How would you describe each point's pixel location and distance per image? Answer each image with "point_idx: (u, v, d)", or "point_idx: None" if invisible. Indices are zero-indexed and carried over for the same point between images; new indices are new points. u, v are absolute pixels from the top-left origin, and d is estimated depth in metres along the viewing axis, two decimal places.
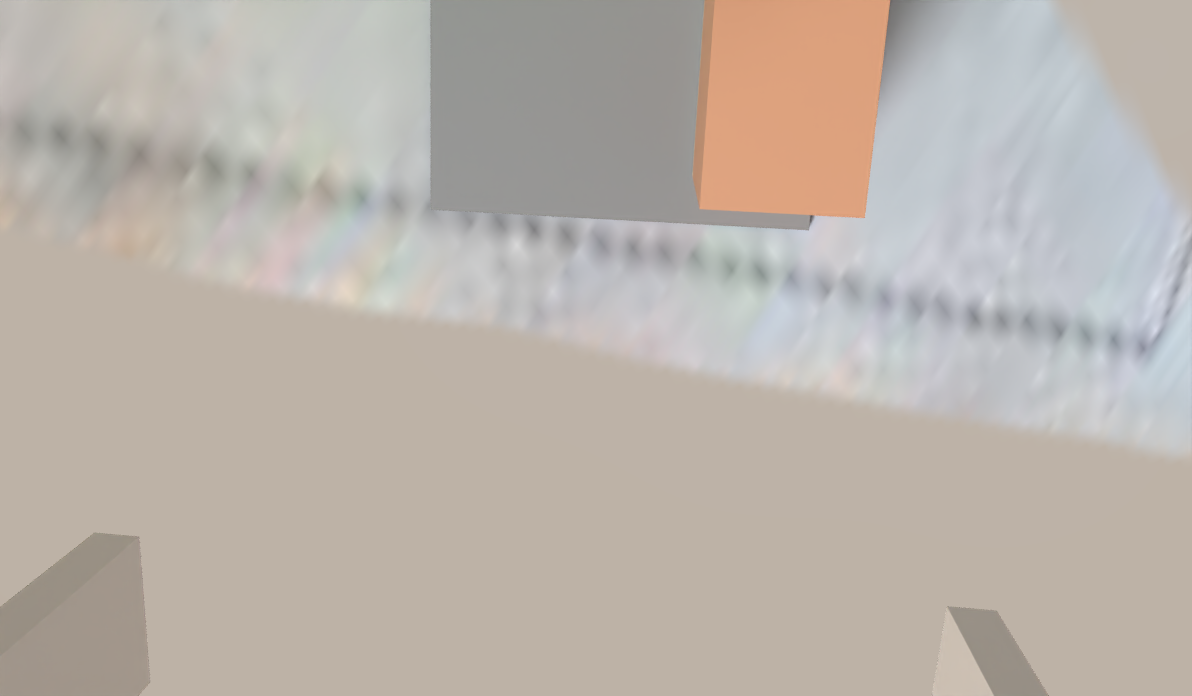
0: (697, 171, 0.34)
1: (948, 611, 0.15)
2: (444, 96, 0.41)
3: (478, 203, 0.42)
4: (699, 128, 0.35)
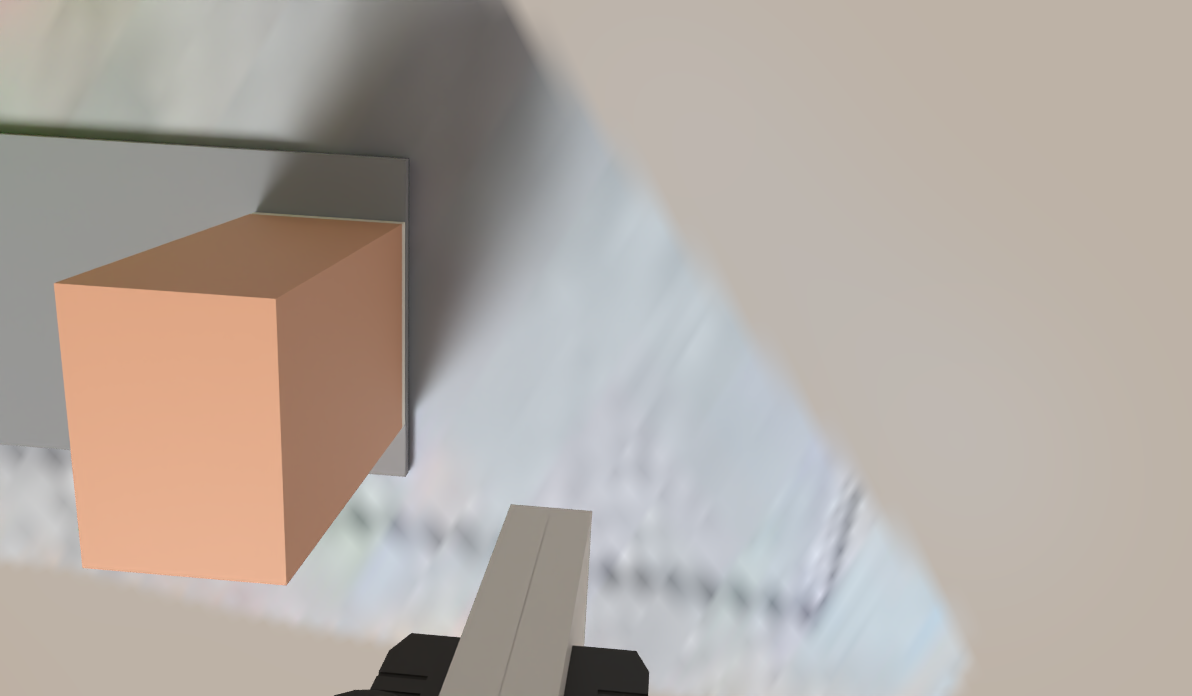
0: None
1: (550, 512, 0.18)
2: None
3: (21, 436, 0.35)
4: None
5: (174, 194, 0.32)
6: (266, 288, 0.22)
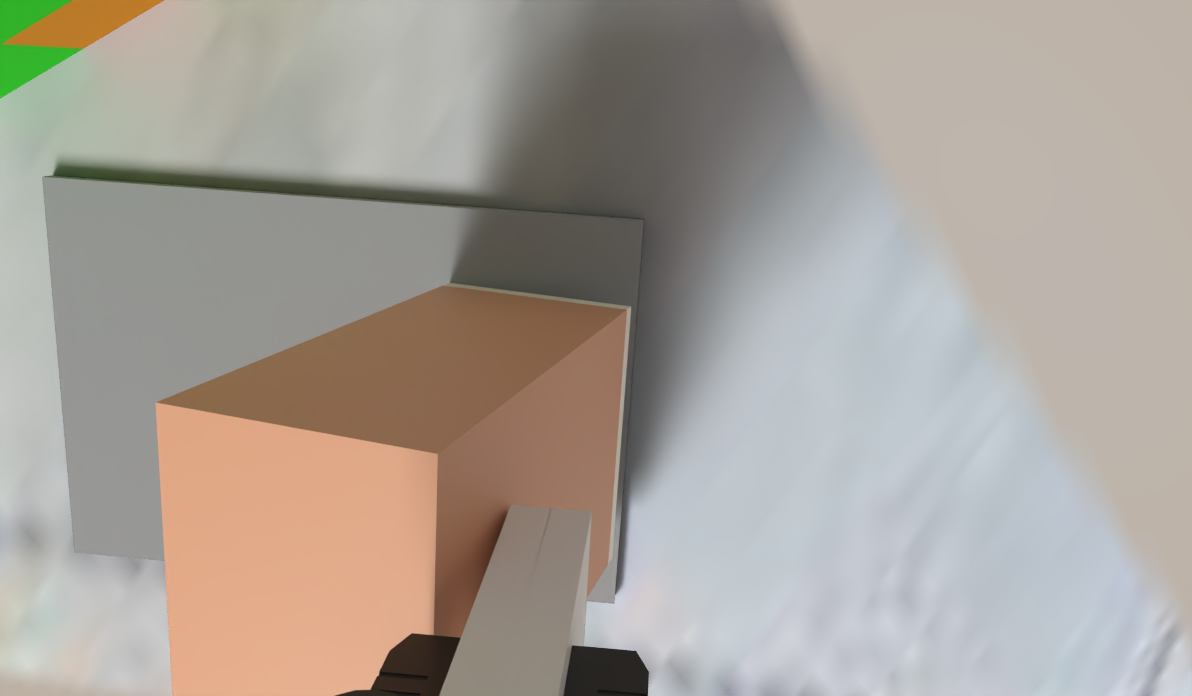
0: None
1: (550, 512, 0.18)
2: (80, 402, 0.28)
3: (141, 546, 0.29)
4: None
5: (350, 259, 0.26)
6: (430, 429, 0.15)
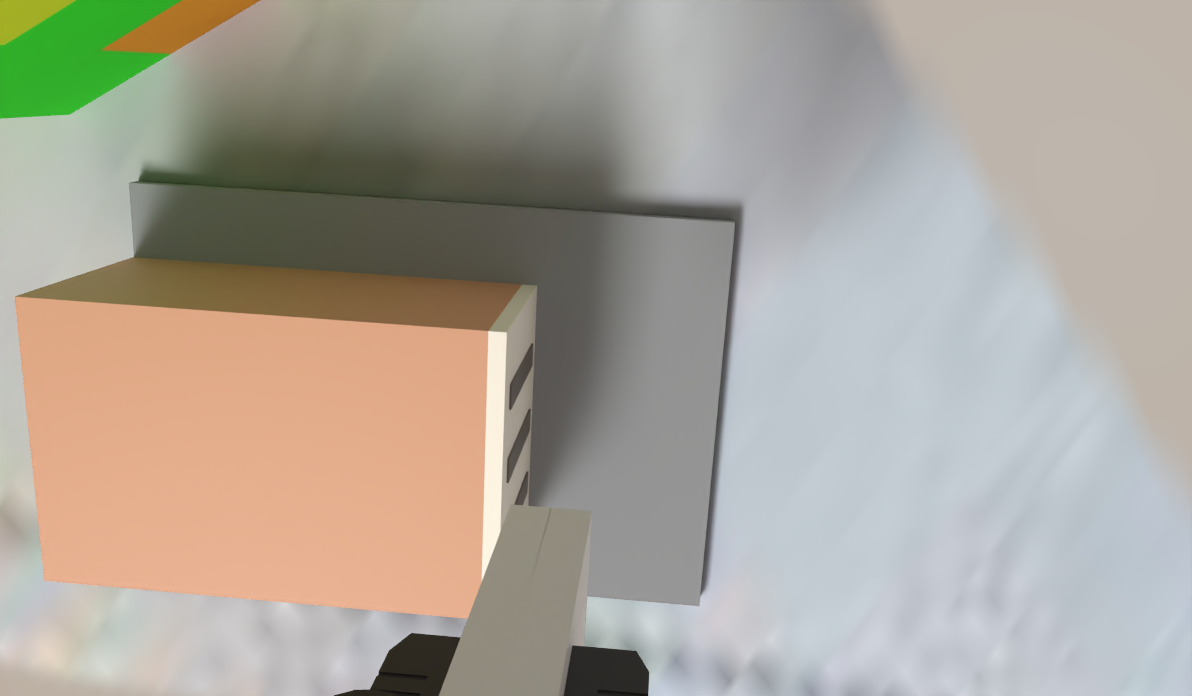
0: None
1: (550, 512, 0.18)
2: None
3: None
4: None
5: (438, 263, 0.26)
6: (68, 294, 0.22)
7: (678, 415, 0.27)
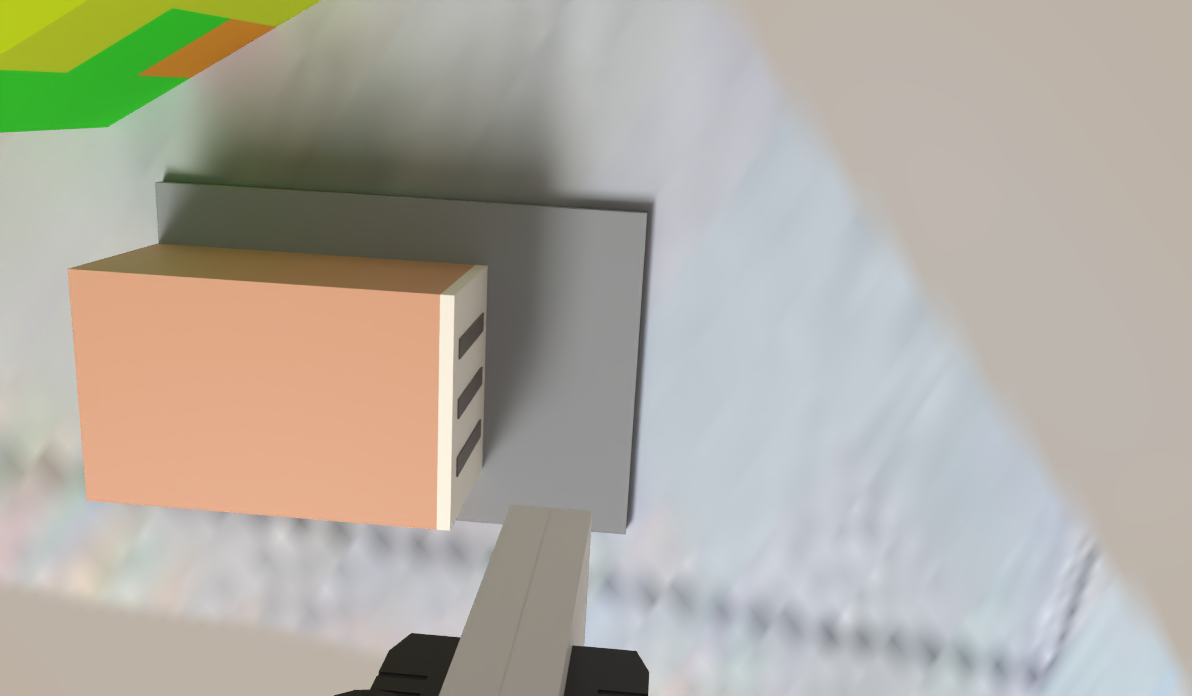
0: None
1: (550, 512, 0.18)
2: None
3: None
4: None
5: (407, 247, 0.32)
6: (109, 267, 0.28)
7: (605, 373, 0.32)
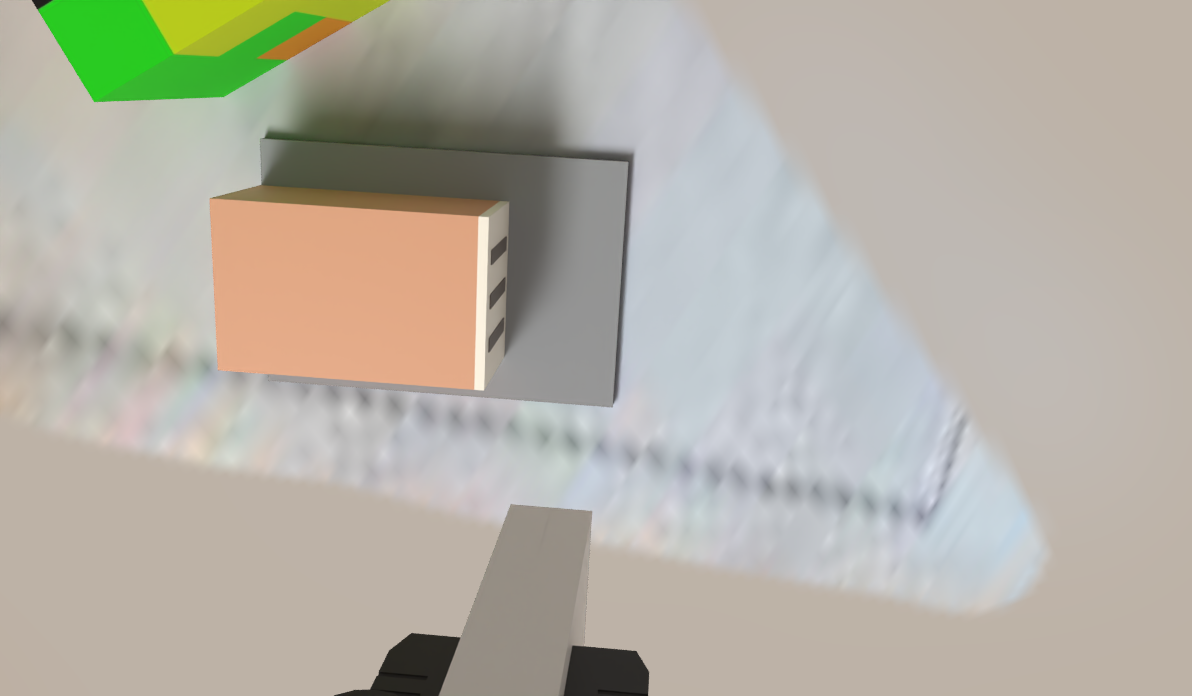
0: None
1: (550, 512, 0.18)
2: None
3: None
4: None
5: (449, 187, 0.43)
6: (237, 198, 0.39)
7: (597, 283, 0.43)
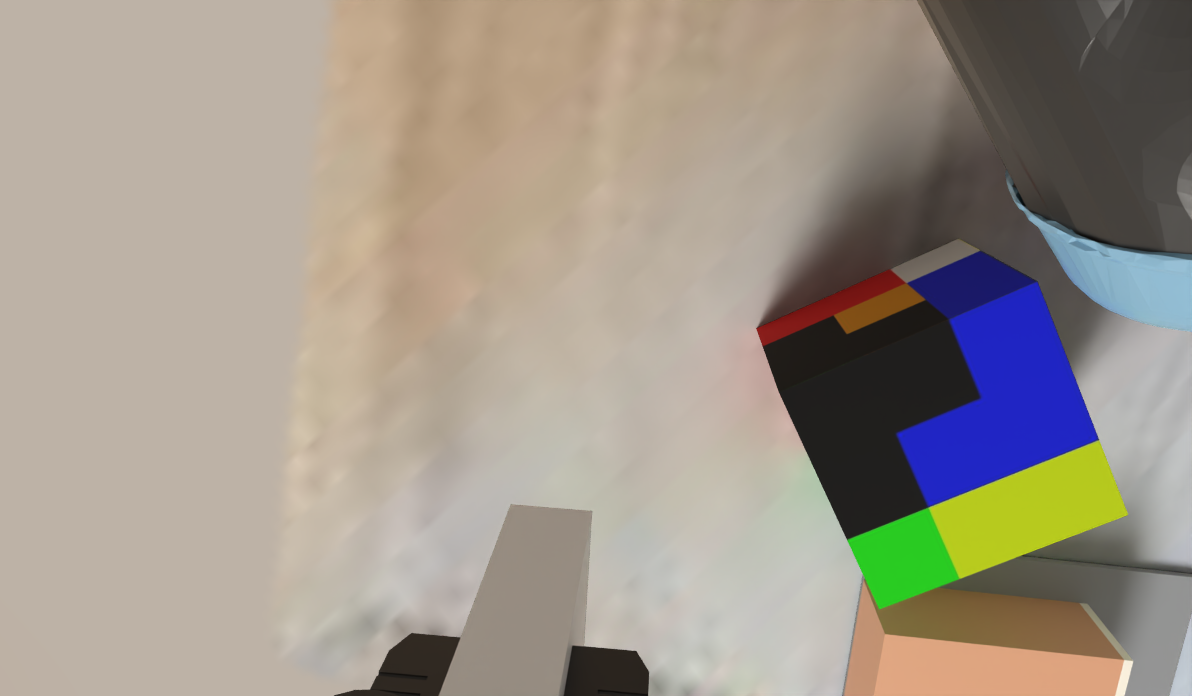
0: None
1: (550, 512, 0.18)
2: None
3: None
4: None
5: (1034, 590, 0.49)
6: (901, 629, 0.45)
7: (1154, 671, 0.49)
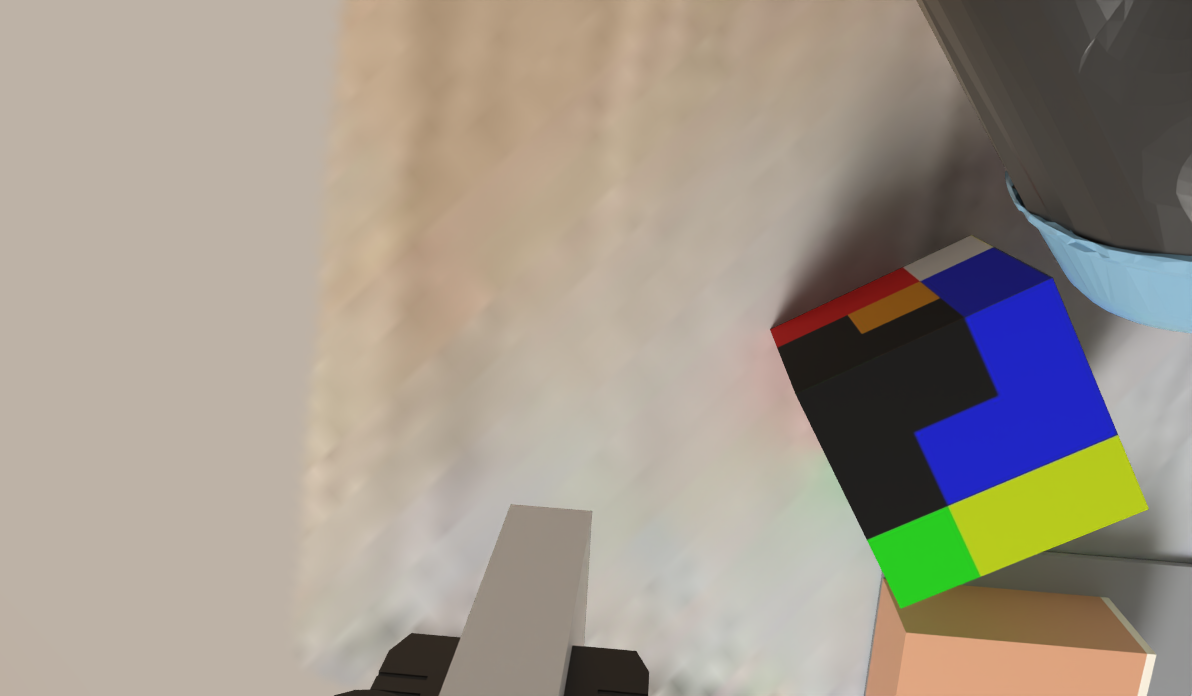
0: None
1: (550, 512, 0.18)
2: None
3: None
4: None
5: (1055, 585, 0.49)
6: (922, 627, 0.45)
7: (1177, 664, 0.49)
